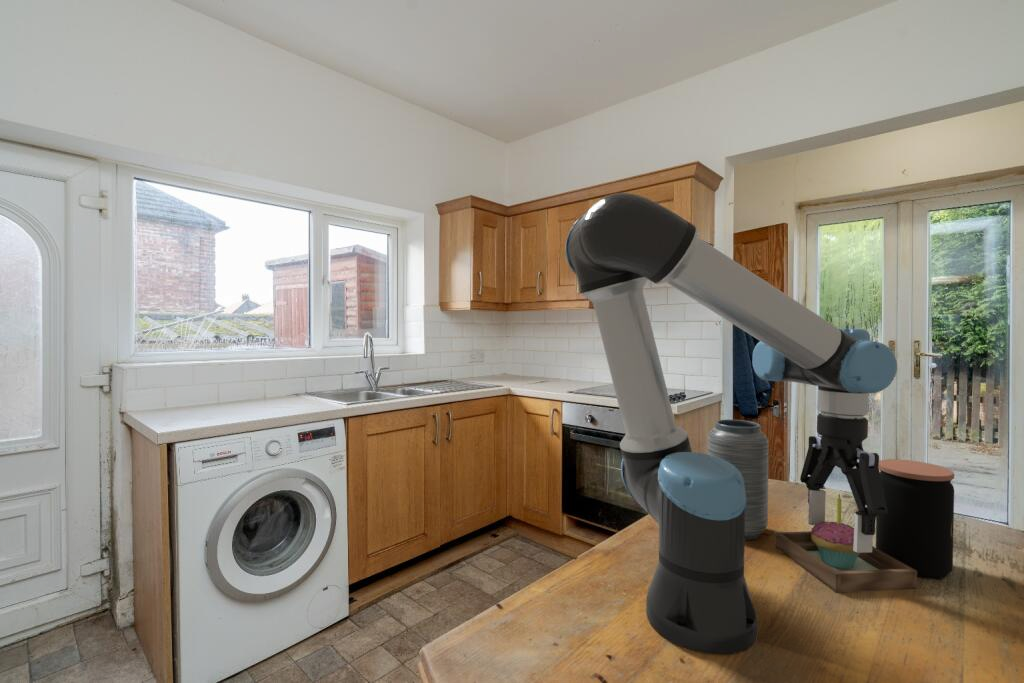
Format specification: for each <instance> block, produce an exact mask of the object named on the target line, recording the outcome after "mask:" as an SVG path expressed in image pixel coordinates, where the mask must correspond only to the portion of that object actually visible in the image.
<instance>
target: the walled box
mask: <svg viewBox="0 0 1024 683" xmlns="http://www.w3.org/2000/svg"><path fill="white" fill-rule="evenodd" d="M775 549H777V550H778V551H779V552H781V553H783V555H785V556H786V557H787V558H789V559H790V560H792V562H794V563H795V564H797V565H798V566H800V567H801V568H803V570H805V571H806V572H808V573H809V574H810V575H812V576H813V577H815V579H817V580H819V581H820V582H822V584H824V585H825V586H827V587H828V588H829V589H830V590H832V591H833V592H835V593H849V592H851V593H852V592H873V591H874V592H876V591H877V592H878V591H879V592H880V591H898V590H899V591H900V590H901V591H903V590H917V589H918V577H917V571H916V570H914V569H913V568H911V567H909V566H907V565H905V564H904V563H902V562H900V561H898V560H896V559H895V558H893V557H891V556H889V555H887V554H886V553H884V552H882V551H880V550H878V549H877V548H876V546H874V545H872V552H863V553H859V555H858V557H857V559H856V561H855V564H854V566H853V568H850V569H840V568H836V567H832V566H830V565H828V564H826V563H824V562H823V561H822V558H821V555H820V552H819V549H818V547H817V546H816V544H815V543H814V542H813V541H812V539H811V530H810V531H807V530H806V531H781V532H780V531H779V532H778V531H777V532H776V531H775Z"/></svg>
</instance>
